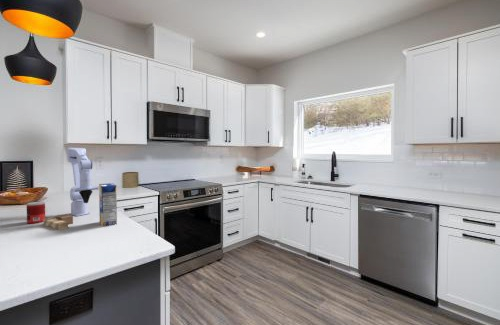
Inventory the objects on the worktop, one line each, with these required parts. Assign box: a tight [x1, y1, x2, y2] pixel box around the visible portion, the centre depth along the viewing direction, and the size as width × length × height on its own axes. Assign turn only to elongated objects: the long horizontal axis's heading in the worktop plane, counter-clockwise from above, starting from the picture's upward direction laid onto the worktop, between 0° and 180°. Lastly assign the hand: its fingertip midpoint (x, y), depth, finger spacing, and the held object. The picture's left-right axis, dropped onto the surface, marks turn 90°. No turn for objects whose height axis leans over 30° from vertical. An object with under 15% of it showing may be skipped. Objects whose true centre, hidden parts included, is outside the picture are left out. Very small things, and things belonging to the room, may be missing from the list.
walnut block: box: [55, 213, 74, 226], centre depth 137 cm, size 8×5×4 cm, turn 59°
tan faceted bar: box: [42, 217, 69, 231], centre depth 133 cm, size 18×4×3 cm, turn 60°
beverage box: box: [98, 182, 118, 227], centre depth 139 cm, size 7×11×22 cm, turn 39°
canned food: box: [26, 201, 46, 225], centre depth 140 cm, size 8×8×11 cm
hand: (85, 202), depth 147 cm, fingers closed
